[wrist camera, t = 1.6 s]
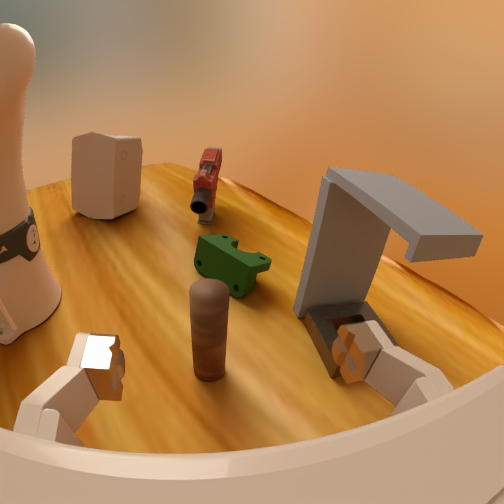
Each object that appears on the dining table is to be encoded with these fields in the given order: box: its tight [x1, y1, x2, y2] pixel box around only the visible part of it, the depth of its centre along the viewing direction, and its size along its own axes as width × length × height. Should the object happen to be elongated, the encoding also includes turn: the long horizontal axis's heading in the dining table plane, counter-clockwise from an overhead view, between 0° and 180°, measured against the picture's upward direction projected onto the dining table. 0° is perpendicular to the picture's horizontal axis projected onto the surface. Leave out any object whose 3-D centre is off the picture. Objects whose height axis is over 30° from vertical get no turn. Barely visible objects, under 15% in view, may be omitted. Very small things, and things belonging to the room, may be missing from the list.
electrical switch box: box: [71, 132, 142, 219], centre depth 64 cm, size 15×15×20 cm
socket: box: [303, 301, 399, 378], centre depth 37 cm, size 10×10×2 cm
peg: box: [189, 279, 230, 382], centre depth 29 cm, size 4×4×12 cm
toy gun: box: [190, 147, 222, 224], centre depth 63 cm, size 4×20×15 cm, turn 178°
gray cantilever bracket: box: [293, 167, 483, 318], centre depth 32 cm, size 11×16×21 cm
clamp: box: [194, 234, 272, 298], centre depth 47 cm, size 12×6×9 cm, turn 43°
